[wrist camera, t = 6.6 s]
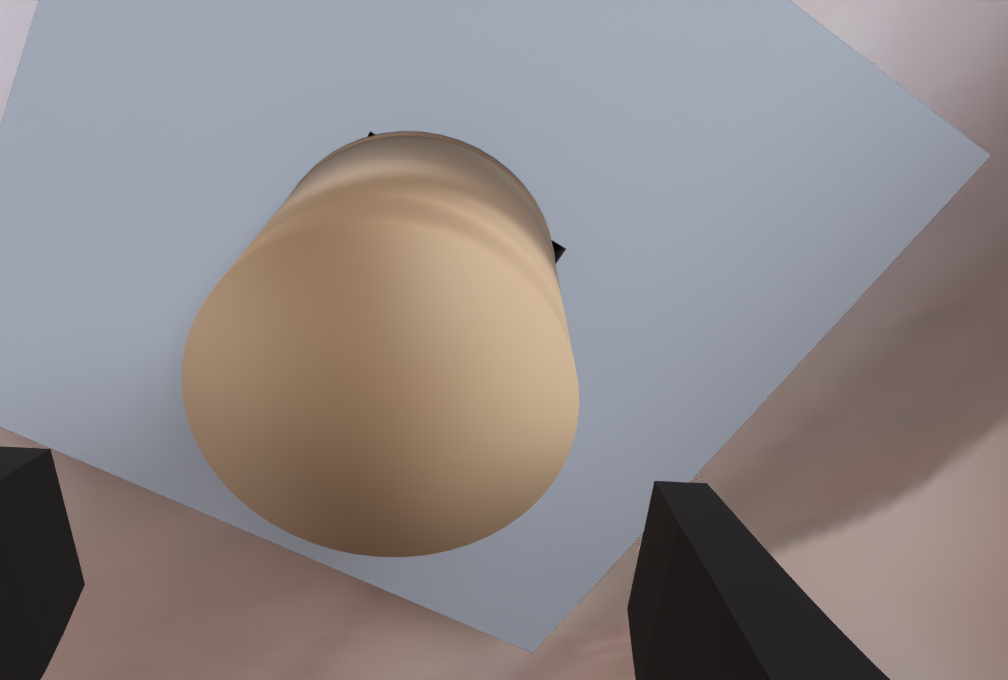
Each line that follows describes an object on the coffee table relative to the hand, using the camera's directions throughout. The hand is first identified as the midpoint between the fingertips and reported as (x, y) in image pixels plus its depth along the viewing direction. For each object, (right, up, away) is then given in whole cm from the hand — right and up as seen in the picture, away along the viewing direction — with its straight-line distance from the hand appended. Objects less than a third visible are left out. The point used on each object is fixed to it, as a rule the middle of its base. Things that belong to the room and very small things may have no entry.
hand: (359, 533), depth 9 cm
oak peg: (0, +4, +8) cm, 9 cm away
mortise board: (0, +4, +8) cm, 9 cm away
